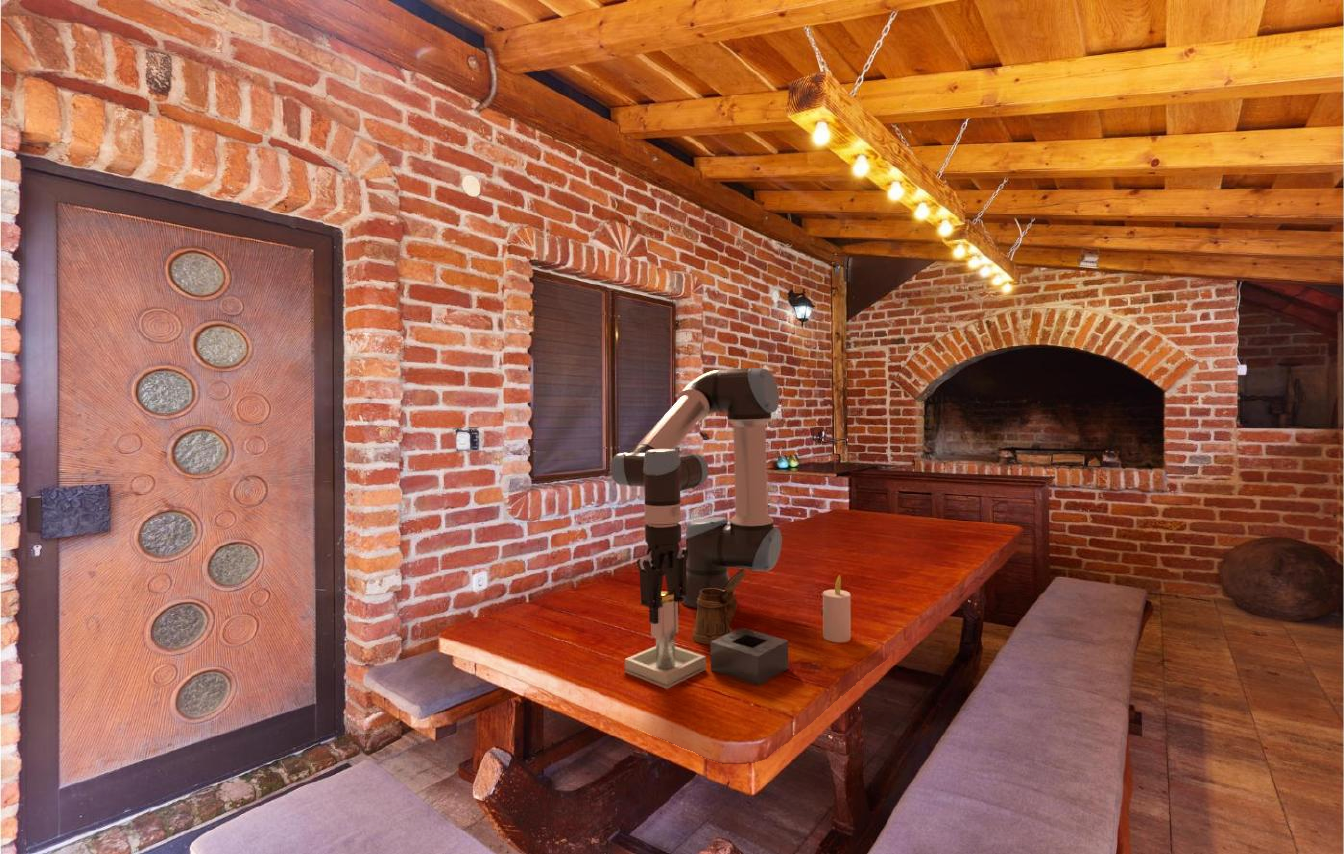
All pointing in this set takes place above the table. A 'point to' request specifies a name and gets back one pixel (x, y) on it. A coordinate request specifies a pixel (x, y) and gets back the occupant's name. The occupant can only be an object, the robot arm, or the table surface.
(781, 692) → the table surface
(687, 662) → the tray
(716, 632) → the wooden mug
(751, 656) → the block
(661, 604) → the gold capped cylinder
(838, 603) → the candle
